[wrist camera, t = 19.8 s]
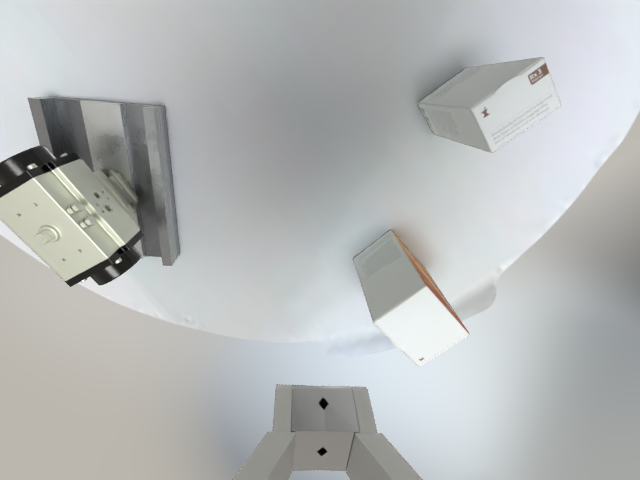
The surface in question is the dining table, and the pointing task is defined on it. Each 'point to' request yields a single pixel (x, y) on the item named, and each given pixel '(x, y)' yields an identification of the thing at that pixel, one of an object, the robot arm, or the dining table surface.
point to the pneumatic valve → (70, 214)
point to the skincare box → (491, 103)
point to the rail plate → (119, 157)
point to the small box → (406, 301)
